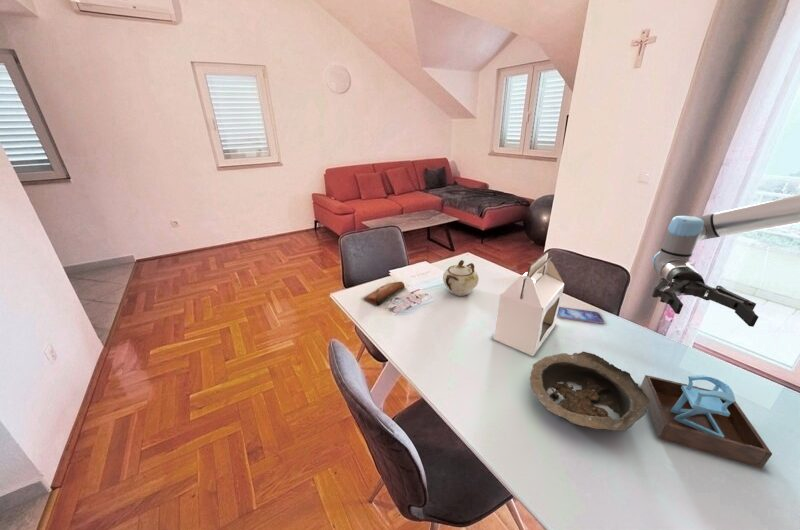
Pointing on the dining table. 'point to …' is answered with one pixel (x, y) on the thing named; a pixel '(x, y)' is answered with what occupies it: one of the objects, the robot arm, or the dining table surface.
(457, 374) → the dining table surface
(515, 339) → the gable box
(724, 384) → the chair
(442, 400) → the dining table surface
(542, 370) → the stone bowl
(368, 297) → the sunglasses case
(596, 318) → the smartphone
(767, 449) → the wooden tray
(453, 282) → the sugar bowl
